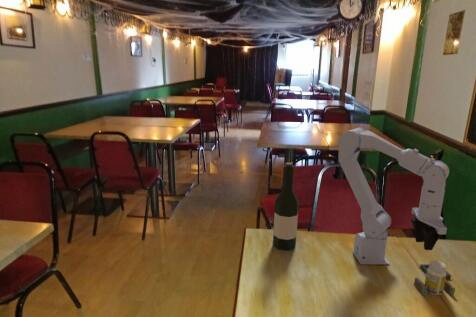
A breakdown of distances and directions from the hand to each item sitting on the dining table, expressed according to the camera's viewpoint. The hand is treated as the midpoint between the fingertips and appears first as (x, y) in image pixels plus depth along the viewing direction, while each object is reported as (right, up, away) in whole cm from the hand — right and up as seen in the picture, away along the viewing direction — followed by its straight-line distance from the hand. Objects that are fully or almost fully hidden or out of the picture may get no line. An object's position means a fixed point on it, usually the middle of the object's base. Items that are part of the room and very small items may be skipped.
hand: (423, 245), depth 102 cm
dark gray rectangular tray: (+5, -9, +3) cm, 11 cm away
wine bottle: (-39, -5, +19) cm, 44 cm away
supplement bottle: (0, -12, -5) cm, 13 cm away
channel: (0, -11, -5) cm, 13 cm away
